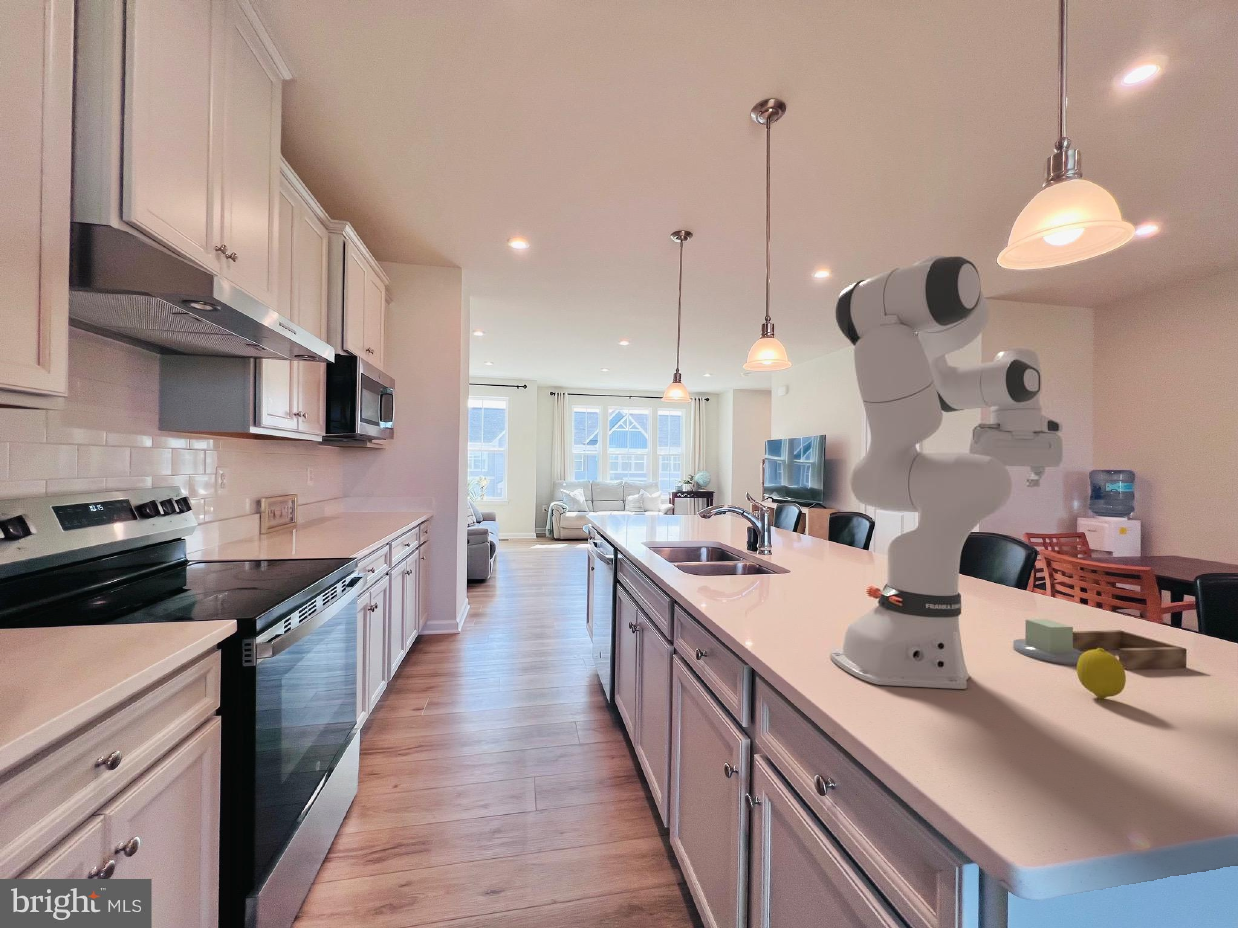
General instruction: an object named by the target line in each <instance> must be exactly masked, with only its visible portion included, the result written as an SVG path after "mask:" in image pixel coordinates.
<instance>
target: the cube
mask: <svg viewBox="0 0 1238 928" xmlns="http://www.w3.org/2000/svg"><path fill="white" fill-rule="evenodd" d="M1073 631H1074V626H1072V625H1067V624H1064V623H1060V622H1058V621H1054V620H1051V619H1048V618H1046V619H1045V618H1041V619H1040V618H1039V619H1038V618H1037V619H1034V618H1033V619H1032V618H1031V619H1025V638H1024V639H1025V644H1026V645H1029V646H1032V647H1034V648H1037V649H1040V650H1043V651H1045V652H1048V653H1073Z"/></svg>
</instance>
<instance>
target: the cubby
mask: <svg viewBox="0 0 1238 928" xmlns="http://www.w3.org/2000/svg"><path fill="white" fill-rule="evenodd" d="M1073 648H1075V649H1077V650H1080V651H1082V650H1083V651H1089V650H1094V649H1097V648H1102V649H1104V650H1118V660H1119V661H1120V662H1121V664H1122V666H1123V668H1124V671H1127V670H1149V669H1150V670H1152V669H1153V670H1154V669H1173V668H1174V669H1180V668H1181V669H1182V668H1183V669H1184V668H1187V655H1188V654H1187V649H1188V648H1185V647H1181V646H1177V645H1175V644H1170V643H1167V642H1164V641H1160V640H1157V639H1153V638H1151V637H1150V638H1149V637H1145V636H1143V635H1139V634H1135V633H1131V632H1128V631H1125V630H1121V629H1120V630H1117V629H1116V630H1115V629H1114V630H1073Z"/></svg>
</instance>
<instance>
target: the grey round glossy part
mask: <svg viewBox="0 0 1238 928" xmlns="http://www.w3.org/2000/svg"><path fill="white" fill-rule="evenodd" d="M1012 644H1013V645H1012V646H1013V650H1014V651H1016V652H1017V653H1018V654H1021V655H1023V656H1026V657H1028V658H1031V659H1035V660H1038V661H1042V662H1048V663H1052V664H1058V665H1065V666H1077V663H1078V660H1079V658H1080V656H1081V655H1082V654H1083V653H1084V652H1085V651H1082V650H1077V649H1075V648H1073V653H1048V652H1045V651H1043V650H1040V649H1037V648H1034V647H1032V646H1029V645H1026V644H1025V638H1018V639H1014V640H1013V643H1012Z"/></svg>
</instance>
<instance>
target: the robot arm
mask: <svg viewBox="0 0 1238 928" xmlns="http://www.w3.org/2000/svg"><path fill="white" fill-rule="evenodd" d="M987 301H988V300H987V299H986V297H985V295H984V294H983V292H982V291H981V279H980V274H979V271H978V269H977V267H976V265H975V264H974V262H972V261H970V260H969V259H966V258H965V257H962V256H955V255H954V256H946V255H932V256H928V257H925V258H923V259H921V260H918V261H917V262H915V263H914V264H913V265H909V266H905V267H897V268H893V269H891V270H888V271H885V272H882V273H880V274H877V275H875V276H872V277H870V278H867V279H861V280H859V281H857V282H854V283H853V284H851V285H849V286H848V287H846V288H845V289H843V290H842V291H841V293H840V294H839V297H838V300H837V301H836V305H835V320H836V324H837V326H838V328H839V330H840V331H841V333H842V334H843V335H844V337H846V339H847V340H848V341H849V342H850V344H852V345H853V347H854V348H853V355H854V357H853V359H854V367H855V376H856V380H857V381H856V382H857V386H858V390H859V393H860V397H861V399H862V404H863V407H864V410H865V414H866V419H867V423H868V426H869V431H870V433H869V434H870V443H869V447H868V451H867V452H866V453H865V455H864V456H863V457H862V458H861V459H859V461H857V462H856V464H855V465H854V467H853V469H852V471H851V473H850V489H851V491H852V492H851V493H852V494H853V496H854V497H855V499H856V500H857V501H858V502H859V503H860V504H862V505H865V506H869V507H872V508H874V509H875V508H876V509H880V510H885V511H893V512H894V511H895V512H908V513H920V520H919V523H918V525H917V526H916V528H914V529H913V530H910V531H906V532H904V533H902V534H900V535H897V536H896V537H895V538H894V539H893V540H892V541H890V543H889V545H888V547H887V565H886V566H887V571H886V572H887V576H886V577H887V578H886V579H887V581H886V583H885V585H884V586H883V589H882V590H881V589H880V588H879V587H875V586H873V585H869V586H868V587H867V588H866V595H867V596H868V597H869V598H873V599H875V600H877V599H878V600H877V603H878V604H877V605H876V606H875V607H873V608H871V609H870V610H869V611H868V612H866V613H865V614H863V615H862V616H860V617H859V618H858V619H857V620H855V621H853V622H852V623H850V624H849V625H848V626H847V628H846V631H845V634H844V639H843V647H840V648H833V649H831V650H830V654H829V657H830V659H831V660H832V662H834V663H835V664H836V665H837V666H838V667H839V668H841V669H842V670H843V671H846V672H847V673H848V674H851V675H853V676H855V677H856V678H858V679H861V680H863V681H865V682H868V683H871V684H875V685H880V686H895V687H896V686H897V687H915V688H917V687H918V688H919V687H920V688H933V689H934V688H935V689H936V688H938V689H939V688H940V689H957V690H966V689H967V688H968V682H967V680H968V679H969V677H970V674H969V672H968V668H967V665H966V660H965V657H964V652H963V645H962V637H961V632H960V631H961V630H960V629H961V628H960V622H959V621H960V619H959V617H960V615H962V594H961V593H960V592H959V579H960V578H959V577H960V575H959V574H960V565H961V556H962V550H963V547H964V545H965V543H966V540H967V539H968V537H969V535H970V534H971V533H972V532H973V530H974V529H975V528H976V527H977V526H978V524H980V523H982V522H983V521H984V520H985V519H987V518H988V517H990V516H993V514H996V513H997V512H999V511H1000V510H1001V509H1002V508H1003V507H1004V506H1005V505H1006V504H1007V502H1008V501H1009V499H1010V496H1011V494H1012V488H1013V484H1012V483H1013V482H1012V477H1011V474H1010V473H1009V470H1008V469H1007V467H1028V468H1030V472H1032V473H1031V476H1030V477H1029V479H1026V487H1027V488H1040V487H1041V479H1042V478H1043V477H1044V474H1045V473H1046V468H1057V467H1059V466H1060V464H1061V463H1062V462H1063V439H1062V436H1061V435H1059V434H1060V433H1062V431H1063V424H1062V423H1061V422H1059V421H1056V420H1054V419H1051V418H1049V417H1048V416H1046V415H1045V414H1044V415H1043V414H1042V411H1043V410H1042V409H1043V408H1042V405H1041V404H1040V396H1041V394H1042V390H1043V387H1042V385H1043V383H1042V370H1041V369H1042V368H1041V363H1040V358H1039V356H1038V353H1037V352H1035V351H1033V350H1030V349H1027V348H1025V349H1024V348H1015V349H1007V350H1004V351H1000V352H999V353H997V354H996V355H995V357H994V358H993V361H989V362H983V363H982V362H981V363H977V364H969V365H962V366H952V365H949V364H948V360H947V358H946V355H949V354H951V353H953V352H955V351H958V350H960V349H963V348H964V347H967V346H969V345H970V344H971V343H972V342H973V341H975V340H976V339H977V338H978V337H979V336H980V335H981V334H982V332H983V331H984V329H985V327H986V325H987V324H988V321H989V317H990V309H989V305H988V302H987ZM983 408H985V409H986V408H990V412H989V413H990V414H989V415H990V419H989V421H990V423H983V422H981V423H978V425H976V426H975V427H974V428H973V429H972V434H971V439H970V445H969V448H968V449H969V450H968V452H927V453H926V452H920V451H919V450H918V448H917V446H916V445H917V444H920V443H923V442H924V441H926V440H928V438H930V437H932V436H933V435H934V434H935V433H936V432H937V431H938V430H939V428H940V427H941V425H942V423H943V414H944V413H943V412H945V413H953V412H958V411H959V412H960V411H964V410H973V409H983Z"/></svg>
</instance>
